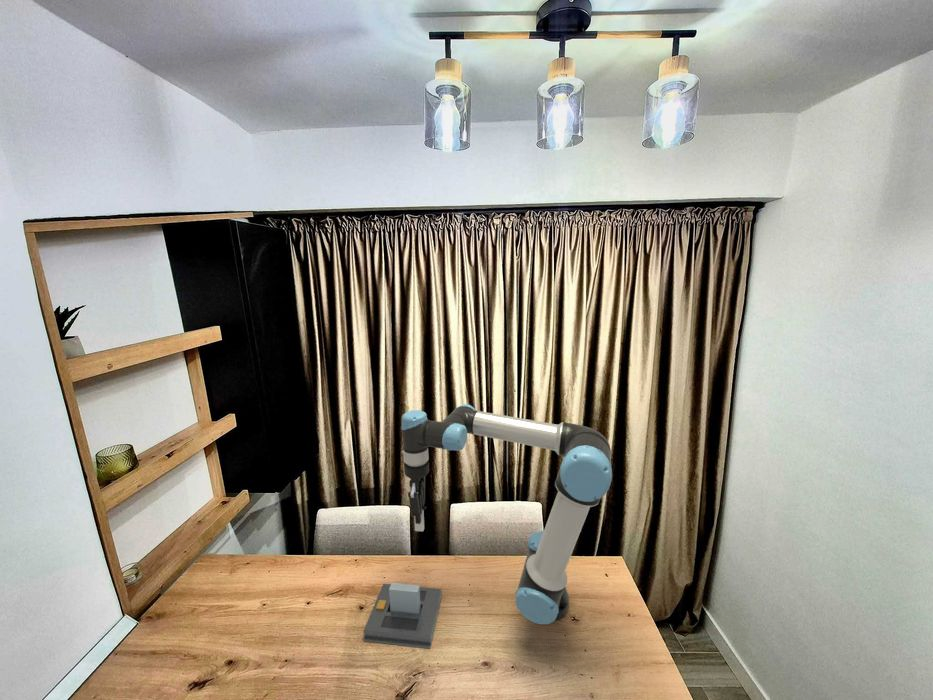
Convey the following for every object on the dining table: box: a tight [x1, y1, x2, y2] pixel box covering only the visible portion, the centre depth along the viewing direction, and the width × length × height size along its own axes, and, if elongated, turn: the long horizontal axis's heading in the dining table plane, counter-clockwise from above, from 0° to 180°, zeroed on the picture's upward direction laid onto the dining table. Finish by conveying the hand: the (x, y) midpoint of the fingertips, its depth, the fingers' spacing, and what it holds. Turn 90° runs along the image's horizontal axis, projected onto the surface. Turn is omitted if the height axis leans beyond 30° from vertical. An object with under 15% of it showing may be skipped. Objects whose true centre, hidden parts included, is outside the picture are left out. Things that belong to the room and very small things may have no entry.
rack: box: [363, 583, 443, 650], centre depth 115 cm, size 20×18×4 cm
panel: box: [389, 582, 421, 615], centre depth 114 cm, size 9×2×10 cm, turn 83°
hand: (419, 529), depth 116 cm, fingers closed
